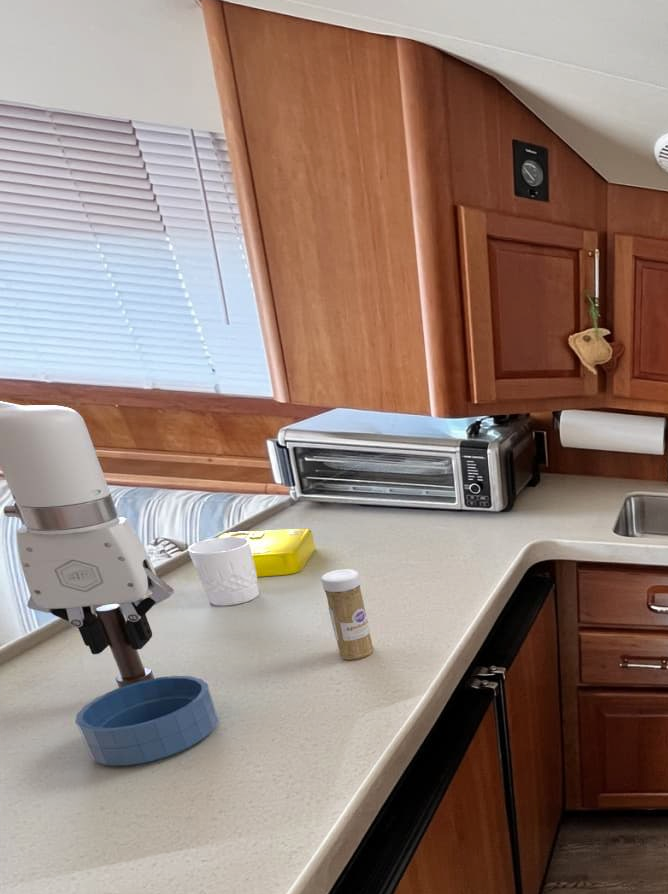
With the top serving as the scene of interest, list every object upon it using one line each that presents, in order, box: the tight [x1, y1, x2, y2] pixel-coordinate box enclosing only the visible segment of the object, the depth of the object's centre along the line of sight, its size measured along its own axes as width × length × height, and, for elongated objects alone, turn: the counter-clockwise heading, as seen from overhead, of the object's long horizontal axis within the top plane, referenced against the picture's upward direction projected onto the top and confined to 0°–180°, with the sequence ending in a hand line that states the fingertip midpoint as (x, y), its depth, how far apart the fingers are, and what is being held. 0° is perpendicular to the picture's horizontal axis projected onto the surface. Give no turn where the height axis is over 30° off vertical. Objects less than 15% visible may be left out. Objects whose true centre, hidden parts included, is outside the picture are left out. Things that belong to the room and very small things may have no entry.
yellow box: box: [217, 528, 316, 578], centre depth 123 cm, size 15×15×5 cm
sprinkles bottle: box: [321, 568, 375, 661], centre depth 96 cm, size 5×5×13 cm
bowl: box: [74, 675, 219, 766], centre depth 77 cm, size 11×11×6 cm
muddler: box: [94, 604, 155, 688], centre depth 83 cm, size 3×3×13 cm
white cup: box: [187, 537, 260, 607], centre depth 109 cm, size 8×8×10 cm
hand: (122, 645), depth 82 cm, fingers open, 3 cm apart
